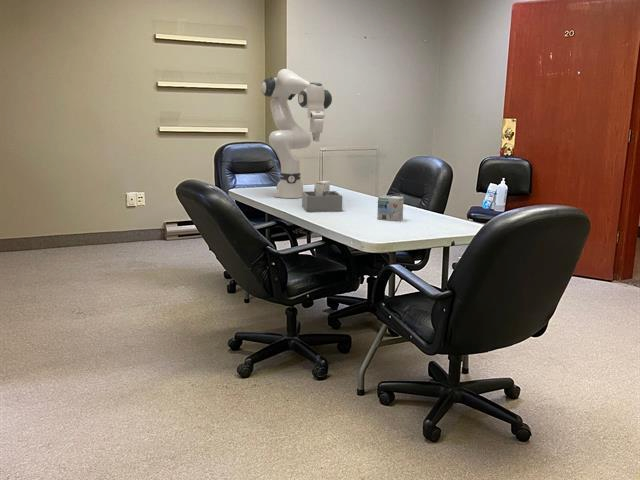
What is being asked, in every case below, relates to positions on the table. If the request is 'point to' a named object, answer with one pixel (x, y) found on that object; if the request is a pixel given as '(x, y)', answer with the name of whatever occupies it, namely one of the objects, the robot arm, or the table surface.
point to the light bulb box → (390, 208)
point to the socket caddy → (322, 202)
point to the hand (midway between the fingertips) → (315, 141)
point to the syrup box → (322, 188)
